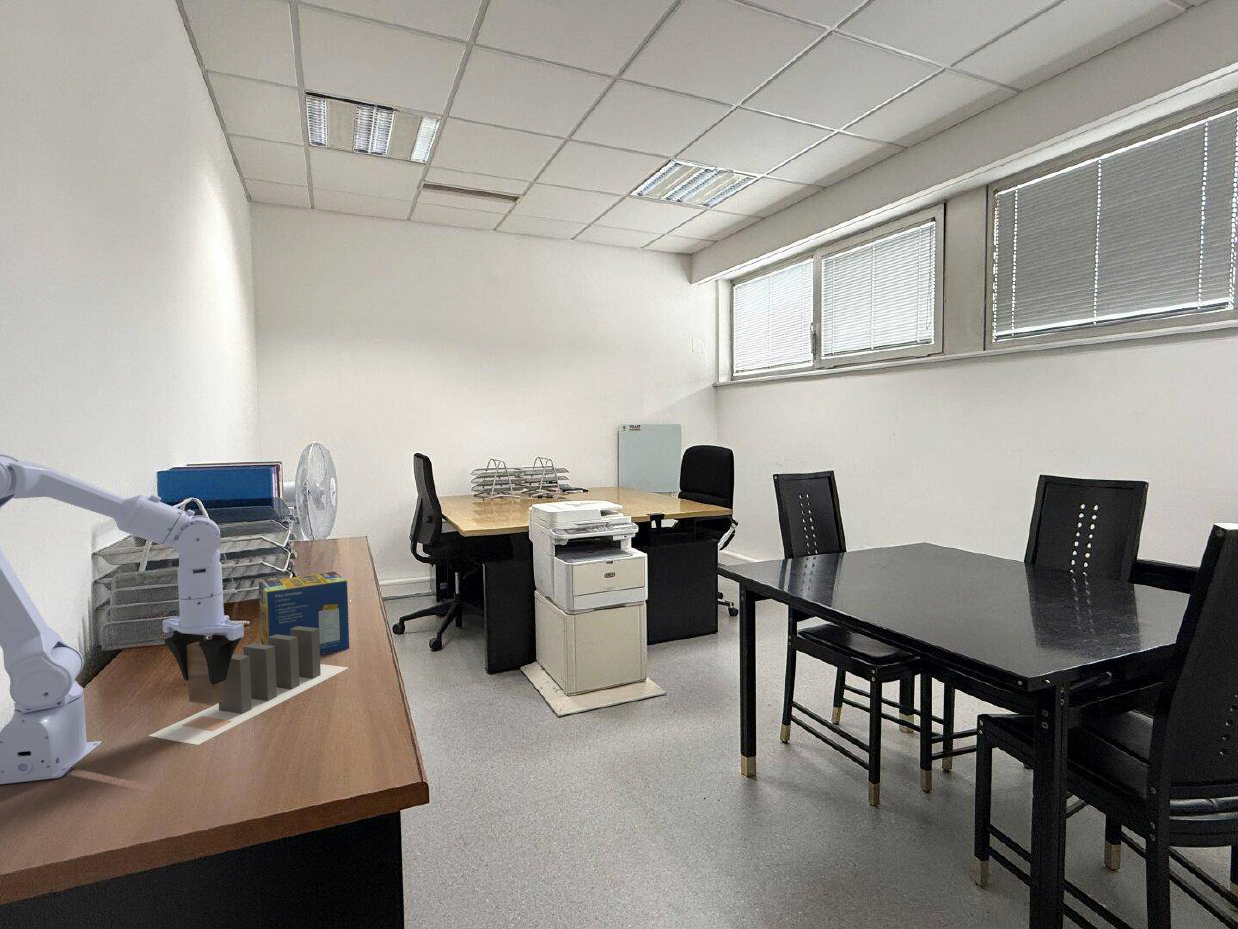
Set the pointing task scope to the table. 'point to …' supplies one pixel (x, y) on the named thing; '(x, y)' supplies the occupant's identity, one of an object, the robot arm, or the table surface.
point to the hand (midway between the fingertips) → (205, 680)
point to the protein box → (306, 608)
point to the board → (218, 721)
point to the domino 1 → (201, 678)
